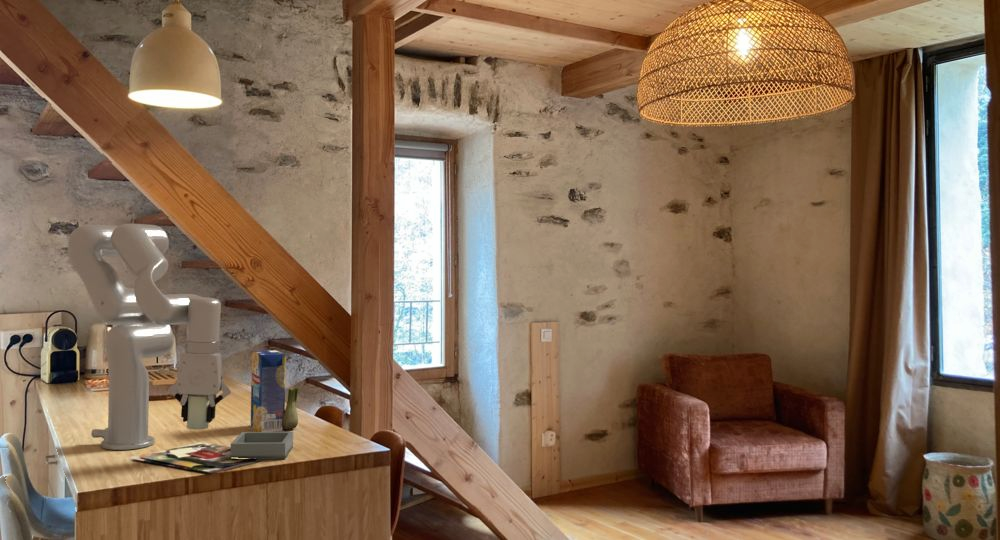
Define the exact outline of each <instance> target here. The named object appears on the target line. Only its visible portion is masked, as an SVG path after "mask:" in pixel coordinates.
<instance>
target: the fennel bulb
mask: <svg viewBox="0 0 1000 540" xmlns="http://www.w3.org/2000/svg"><path fill="white" fill-rule="evenodd" d="M298 393H299V387H291V388H289V389H288V394H287V402H286V405H285V412H284V414H283V418H282V424H281V426H282V428H284V430H292V429H295V428H297V426H298V424H299V416H298V411H297V399H298Z"/></svg>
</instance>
